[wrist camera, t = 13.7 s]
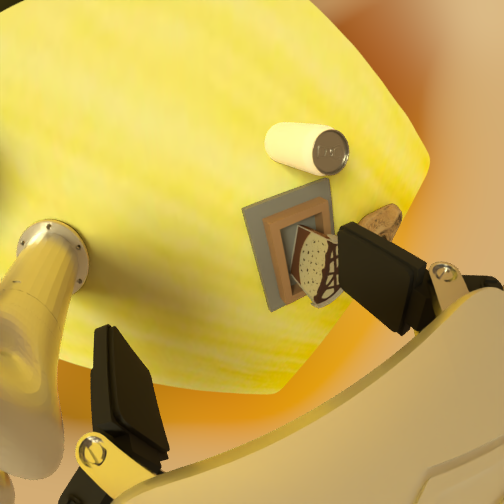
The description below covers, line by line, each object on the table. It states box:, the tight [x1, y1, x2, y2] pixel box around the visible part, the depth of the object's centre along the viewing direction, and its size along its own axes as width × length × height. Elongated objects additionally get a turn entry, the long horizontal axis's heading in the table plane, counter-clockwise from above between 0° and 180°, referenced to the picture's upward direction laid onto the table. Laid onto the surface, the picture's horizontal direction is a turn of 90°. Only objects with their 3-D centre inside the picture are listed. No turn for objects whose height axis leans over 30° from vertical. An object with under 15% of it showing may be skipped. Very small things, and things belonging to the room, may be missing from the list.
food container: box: [289, 224, 344, 308], centre depth 44 cm, size 12×6×10 cm, turn 174°
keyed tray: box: [241, 178, 335, 312], centre depth 47 cm, size 16×22×4 cm
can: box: [265, 122, 349, 176], centre depth 34 cm, size 6×6×12 cm
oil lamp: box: [358, 204, 402, 242], centre depth 51 cm, size 11×15×8 cm
